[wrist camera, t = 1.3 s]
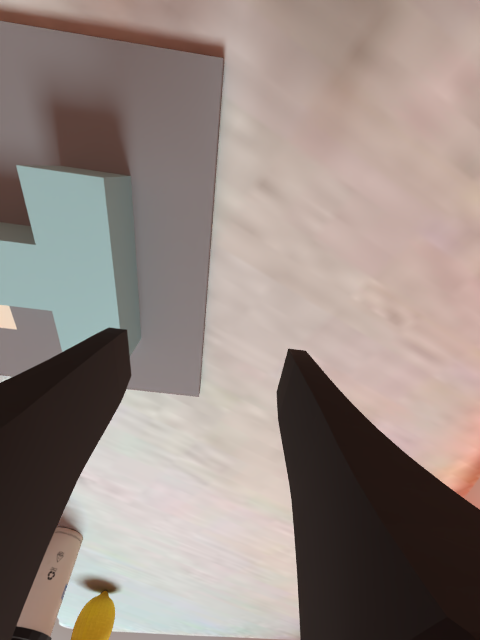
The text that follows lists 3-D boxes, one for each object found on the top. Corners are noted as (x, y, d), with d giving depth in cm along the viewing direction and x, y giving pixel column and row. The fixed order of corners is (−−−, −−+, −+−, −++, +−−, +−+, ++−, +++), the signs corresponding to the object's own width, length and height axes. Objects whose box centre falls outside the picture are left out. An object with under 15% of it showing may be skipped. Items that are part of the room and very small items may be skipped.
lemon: (129, 593, 44) (108, 671, 38) (107, 598, 46) (82, 675, 39) (104, 581, 42) (76, 663, 35) (81, 588, 44) (50, 667, 37)
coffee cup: (24, 527, 34) (-53, 652, 25) (68, 518, 32) (3, 647, 24) (61, 550, 37) (5, 668, 28) (103, 543, 36) (56, 664, 27)
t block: (141, 338, 19) (123, 366, 16) (-1, 321, 18) (-42, 347, 16) (130, 175, 14) (103, 177, 11) (-64, 147, 13) (-140, 142, 11)
